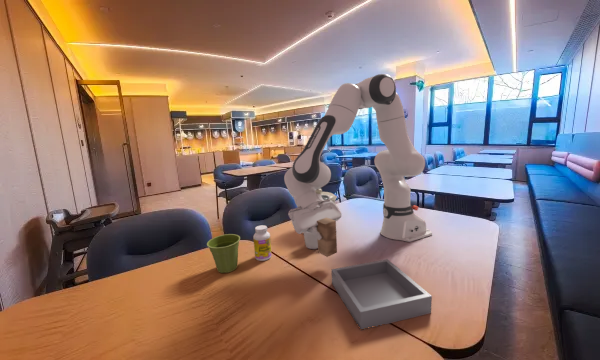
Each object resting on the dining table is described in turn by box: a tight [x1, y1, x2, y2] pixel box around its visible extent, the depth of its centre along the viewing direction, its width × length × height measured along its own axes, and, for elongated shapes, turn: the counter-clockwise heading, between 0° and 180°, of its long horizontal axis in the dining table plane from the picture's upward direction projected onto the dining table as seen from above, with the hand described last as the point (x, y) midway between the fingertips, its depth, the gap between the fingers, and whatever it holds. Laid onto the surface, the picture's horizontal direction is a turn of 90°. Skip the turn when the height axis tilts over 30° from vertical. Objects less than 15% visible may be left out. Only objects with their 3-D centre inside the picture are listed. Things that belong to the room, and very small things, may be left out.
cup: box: [303, 228, 318, 250], centre depth 104 cm, size 11×8×8 cm
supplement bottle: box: [252, 224, 272, 262], centre depth 97 cm, size 7×7×13 cm
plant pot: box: [206, 233, 241, 274], centre depth 90 cm, size 12×12×11 cm
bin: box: [331, 258, 433, 330], centre depth 70 cm, size 20×20×5 cm
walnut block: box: [317, 218, 338, 258], centre depth 86 cm, size 5×5×12 cm
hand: (328, 236), depth 86 cm, fingers closed on walnut block, 5 cm apart
